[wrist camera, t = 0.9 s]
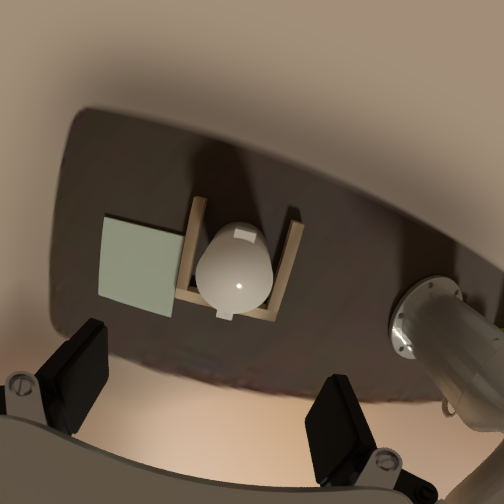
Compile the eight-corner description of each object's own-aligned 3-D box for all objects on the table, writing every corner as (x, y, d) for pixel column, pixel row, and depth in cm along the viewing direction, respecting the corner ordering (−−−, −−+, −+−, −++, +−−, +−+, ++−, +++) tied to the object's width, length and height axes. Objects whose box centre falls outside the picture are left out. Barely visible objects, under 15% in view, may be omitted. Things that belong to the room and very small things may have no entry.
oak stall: (302, 222, 30) (304, 224, 28) (273, 315, 32) (274, 321, 31) (196, 196, 29) (193, 197, 28) (177, 292, 32) (174, 297, 30)
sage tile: (185, 236, 30) (184, 237, 30) (171, 315, 33) (170, 317, 32) (106, 216, 29) (104, 217, 29) (99, 293, 32) (98, 294, 32)
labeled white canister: (275, 222, 30) (285, 241, 21) (255, 294, 32) (256, 336, 23) (220, 208, 29) (206, 221, 21) (203, 281, 31) (186, 320, 23)
